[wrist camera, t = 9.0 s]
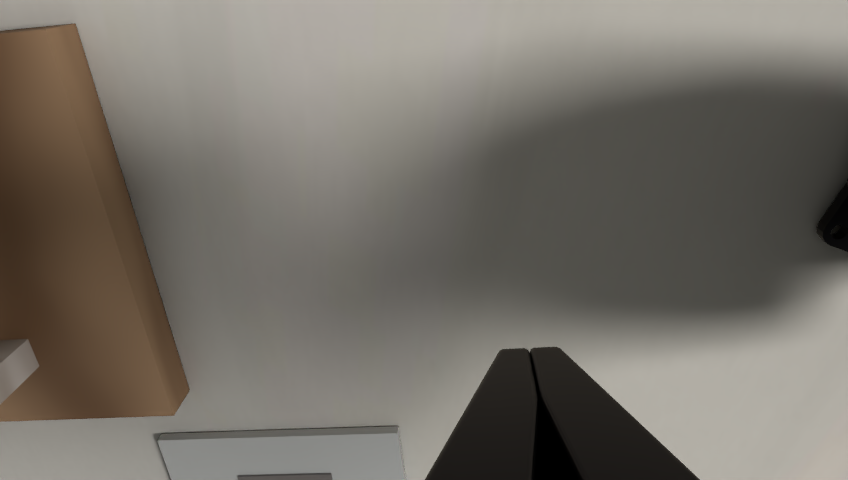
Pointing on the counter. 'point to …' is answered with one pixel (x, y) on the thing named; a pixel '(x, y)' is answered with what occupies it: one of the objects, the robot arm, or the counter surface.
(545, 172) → the counter surface
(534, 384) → the robot arm
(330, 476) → the pattern card
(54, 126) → the wooden block stand
